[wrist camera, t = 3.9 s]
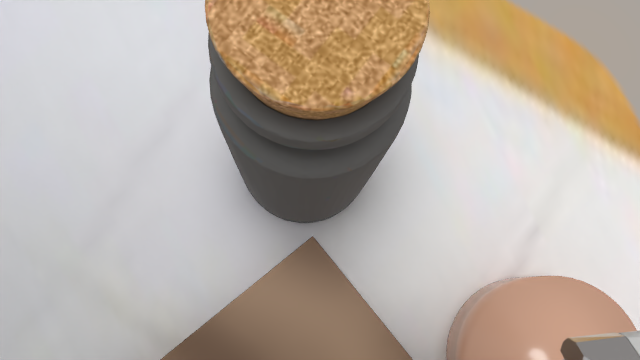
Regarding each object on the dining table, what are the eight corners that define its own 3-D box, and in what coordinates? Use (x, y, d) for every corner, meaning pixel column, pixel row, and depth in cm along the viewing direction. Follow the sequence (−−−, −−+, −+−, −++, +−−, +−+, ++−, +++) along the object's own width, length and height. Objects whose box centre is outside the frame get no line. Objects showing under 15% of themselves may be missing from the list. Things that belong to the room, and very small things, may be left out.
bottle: (392, 177, 27) (514, 37, 12) (287, 249, 26) (279, 193, 11) (321, 78, 27) (352, -169, 13) (216, 144, 27) (121, -38, 12)
